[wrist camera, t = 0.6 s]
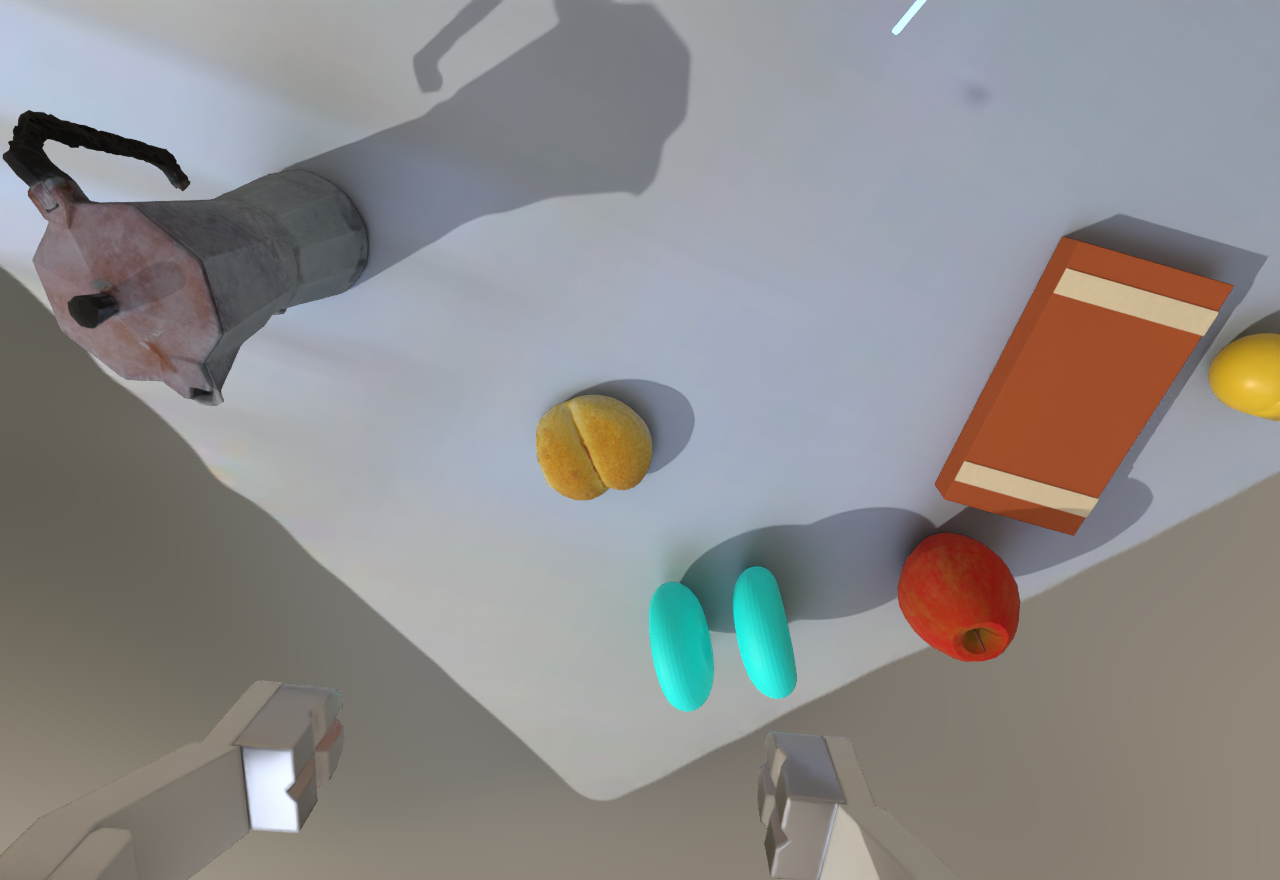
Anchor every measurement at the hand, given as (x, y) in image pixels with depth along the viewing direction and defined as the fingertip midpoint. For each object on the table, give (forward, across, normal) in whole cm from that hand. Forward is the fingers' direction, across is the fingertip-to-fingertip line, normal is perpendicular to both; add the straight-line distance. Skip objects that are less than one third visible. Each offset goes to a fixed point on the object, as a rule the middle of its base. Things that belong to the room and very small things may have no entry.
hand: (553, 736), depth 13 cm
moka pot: (+40, +24, -6) cm, 47 cm away
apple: (+38, -26, +14) cm, 49 cm away
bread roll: (+40, +2, +8) cm, 41 cm away
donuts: (+40, -10, +21) cm, 46 cm away
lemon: (+35, -42, -4) cm, 55 cm away
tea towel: (+36, -31, -1) cm, 48 cm away
